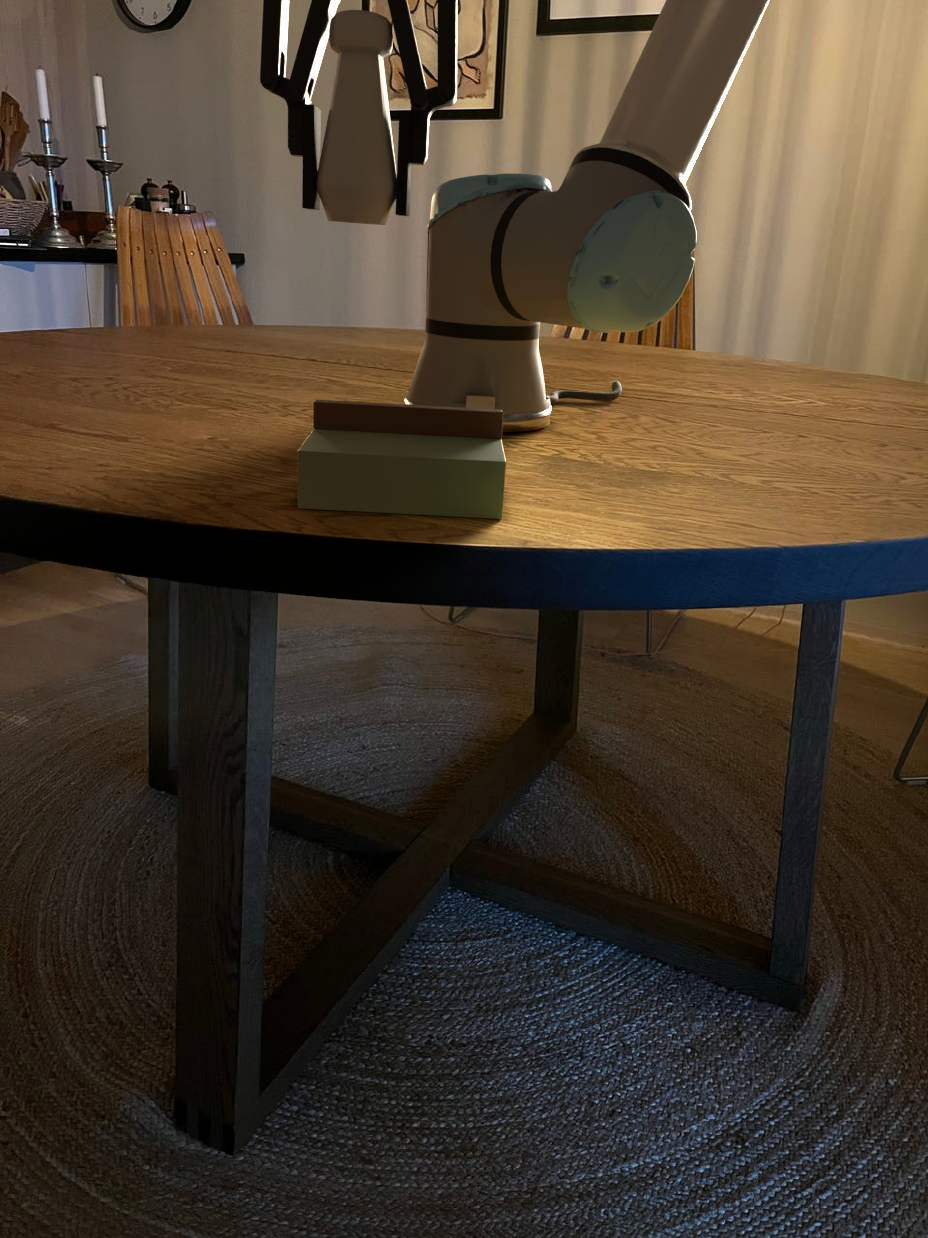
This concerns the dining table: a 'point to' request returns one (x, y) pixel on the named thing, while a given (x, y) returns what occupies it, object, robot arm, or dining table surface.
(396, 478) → the spice shelf
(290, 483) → the dining table surface
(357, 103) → the salt shaker
